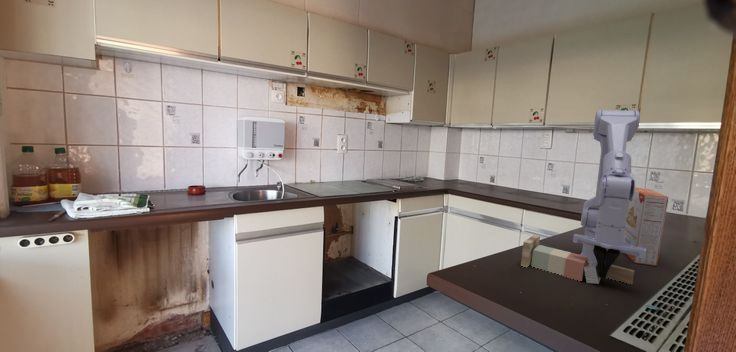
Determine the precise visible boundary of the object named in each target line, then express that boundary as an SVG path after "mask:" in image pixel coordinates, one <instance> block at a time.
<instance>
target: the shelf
mask: <svg viewBox="0 0 736 352" xmlns="http://www.w3.org/2000/svg"><path fill="white" fill-rule="evenodd" d="M540 239H541V235H538V234H533V235H532V236H530V237H528V238H527V239H526V240H525V241H523V243H522V244H523V245H522V251H521V261H520V267H521V266H523V267H522V268H524V267H526V268H525V269H528V268H529V267H530V266H531V264H532V256H533V250H534V249H535V248H536V247H537V246H539V245H540ZM588 261H594V260H590V259H588ZM529 265H530V266H529ZM528 266H529V267H528ZM527 267H528V268H527ZM634 276H635V269H630V268H628V267H627V268H626V267H623V266H618V265H616V264H615V265H614V264H612V265H611V267H610V268H609V270H608V272H607V276H606V278H605V279H608V278H609V279H608V280H611V279H612V281H615V280H616V282H619V281H621V282H620V283H622V282H624V283H623V284H626V283H627V285H630V284H631V285H630V286H633V282H634Z"/></svg>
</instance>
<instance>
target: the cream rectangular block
mask: <svg viewBox="0 0 736 352" xmlns="http://www.w3.org/2000/svg"><path fill="white" fill-rule="evenodd" d="M570 253H572V252H571V251H567V250H566V251H565V250H562V249H558V248H554V250H553V251H552V252H551V253H550V254H549V260H548V268H547V271H549V272H548V273H551V272H552V273H551V274H554V273H556V274H555V275H557V274H559V275H558V276H561V275H562V276H561V277H564V269H565V262H566V258H567V257H568V255H569V254H570ZM547 271H546V272H547Z"/></svg>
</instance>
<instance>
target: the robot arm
mask: <svg viewBox="0 0 736 352" xmlns="http://www.w3.org/2000/svg"><path fill="white" fill-rule="evenodd" d="M594 116H595V117H594V125H593V134H592V135H593V140H596V141H597V142H599V144H600V159H599V164H598V174H597V175H598V176H597V181H596V182H597V183H596V188H595V189H596V191H595V196H593V197H591V198H589V199H588V200H585V202H583V207H582V211H581V216H580V217H581V218H580V225H581V227H582V228H584V229H585V230H584V234H578V233H574V234H573V237H572V243H575V244H582V249H581V250H582V251H581V253H580V254H579V255H583V256H587V257H588V259H590V260H594V261H597V263H598V268H599V277H601V279H607V278H606V276H607V272H608V270H609V268H610V267H611V265H614V263H615V261H616V260H617V259H618V258H619V256H620V254H621V253H623V254H625V253H626V254H631V255H635V256H639V257H640V258H645V252H646V248H641V247H637V246H634V245H630V244H626V243H623V238H624V232H625V226H626V219H627V213H628V207H629V201H627V200H628V198H629V200H630V201H631V200H632V198H633V196H634V192H635V188H636V179H635V177H634V173H632V157H631V155H630V154H629V153H627V152H626V150H627V143H628V142H631V141H632V139H633V138H634V137H635V134H636V132H637V131H638V128H639V125H640V118H641V113H640V111H639V110H638V109H635V110H622V109H621V110H618V109H617V110H613V109H612V110H609V109H607V110H606V109H598V110H597V111H596V113H595V115H594ZM626 254H625V255H626Z"/></svg>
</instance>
